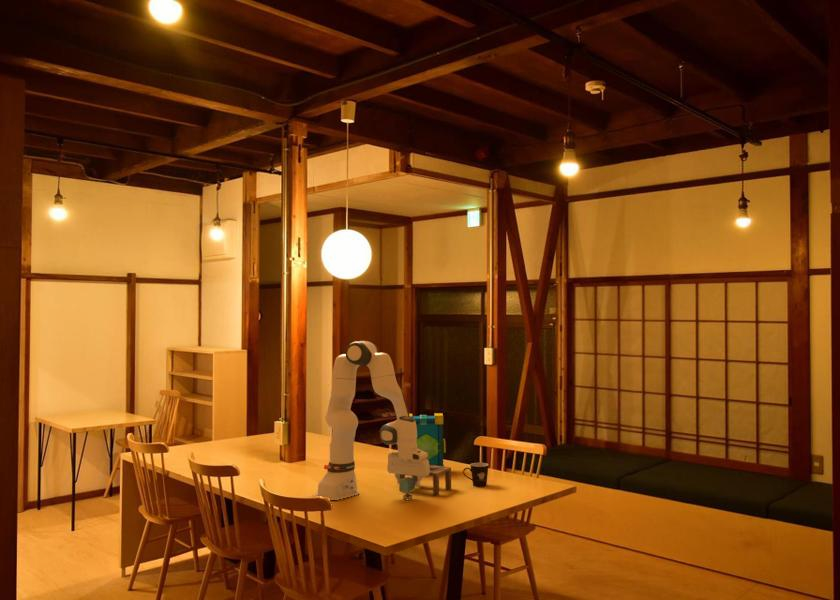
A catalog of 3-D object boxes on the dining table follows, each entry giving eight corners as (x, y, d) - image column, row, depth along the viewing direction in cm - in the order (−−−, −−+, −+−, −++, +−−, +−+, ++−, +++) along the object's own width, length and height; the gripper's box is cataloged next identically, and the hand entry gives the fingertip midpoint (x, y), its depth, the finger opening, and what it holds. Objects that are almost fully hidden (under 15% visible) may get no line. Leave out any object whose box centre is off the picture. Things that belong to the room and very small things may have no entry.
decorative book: (446, 475, 346) (445, 416, 347) (400, 476, 346) (400, 417, 346) (444, 469, 360) (444, 412, 361) (401, 469, 360) (400, 413, 361)
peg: (408, 501, 298) (407, 480, 298) (400, 500, 300) (400, 479, 300) (414, 498, 303) (414, 477, 304) (407, 496, 305) (406, 476, 306)
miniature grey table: (451, 488, 319) (450, 467, 319) (437, 495, 307) (436, 473, 307) (414, 483, 329) (414, 463, 329) (399, 490, 317) (399, 469, 317)
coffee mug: (490, 483, 327) (489, 463, 327) (487, 488, 319) (486, 466, 319) (466, 482, 330) (466, 462, 331) (462, 486, 322) (462, 465, 322)
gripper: (384, 453, 305) (385, 484, 304) (424, 456, 295) (425, 488, 295) (391, 450, 310) (392, 480, 310) (431, 453, 300) (431, 485, 300)
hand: (408, 484), depth 302 cm, fingers open, 8 cm apart
